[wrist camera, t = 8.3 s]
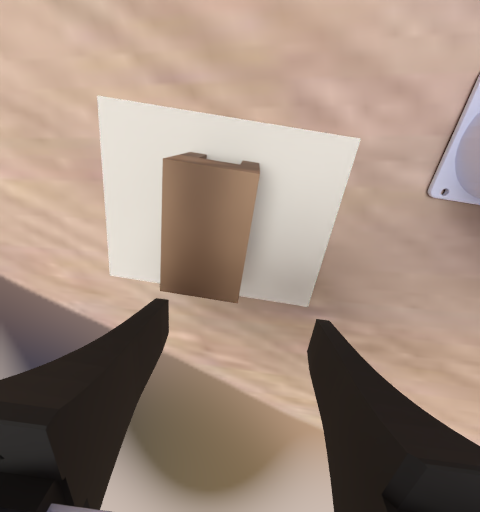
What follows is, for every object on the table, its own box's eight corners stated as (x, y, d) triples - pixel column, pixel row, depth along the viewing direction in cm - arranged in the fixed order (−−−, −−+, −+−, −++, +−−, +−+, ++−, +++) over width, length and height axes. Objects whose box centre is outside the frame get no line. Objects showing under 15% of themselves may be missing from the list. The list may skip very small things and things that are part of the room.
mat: (357, 138, 18) (360, 138, 18) (306, 303, 24) (307, 307, 24) (101, 96, 18) (97, 95, 18) (113, 272, 24) (109, 275, 24)
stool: (259, 163, 19) (259, 174, 13) (242, 262, 22) (237, 303, 17) (190, 151, 19) (162, 158, 13) (184, 252, 22) (159, 290, 17)
